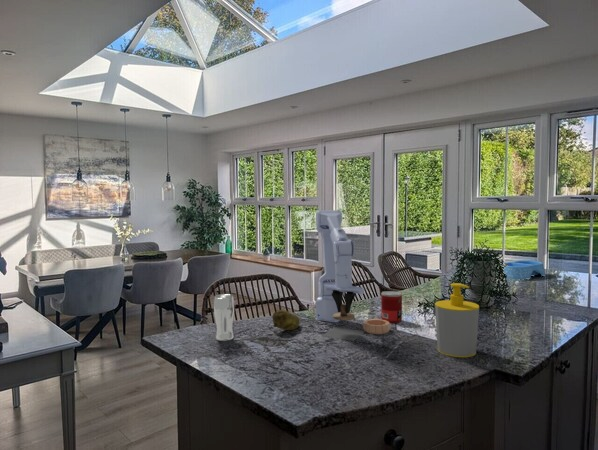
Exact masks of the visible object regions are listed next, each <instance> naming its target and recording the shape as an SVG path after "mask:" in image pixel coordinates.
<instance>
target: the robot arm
mask: <svg viewBox="0 0 598 450" xmlns="http://www.w3.org/2000/svg"><path fill="white" fill-rule="evenodd" d="M342 222H343V214H342V211H341V210H340V209H336V210H334V209H333V210H326V209H325V210H320V209H318V210H317V211H316V212H315V227H316V232H318V233H320V234H321V235H320V236H321V240H322V255H323V268H324V269H323V272H324V273H323V274H322V275H321V276H320V277H319V278H318V280H317V281H318V282H317V285H318V286H317V290H318V292H317V293H318V297H317V299H316V302H315V320H316V321H324V322H330V323H339V322H340V321H341V320H337V319H334V318H333V314H335V313H340V305H342V304H343V296H344V302H345V305H346V313H350V311H351V308H352V305H353V304H352V303H353V301H354V298H355V296H356V294H359V295H363V294H364V293H365V288H364V287H361V286H360V287H359V286H355V285H352V283H353V282H352V281H353V274H352V273H353V272H352V271H353V269H352V267H353V262H352V259H353V258H352V257H353V256H354V253H355V245H354V241H353V240H352V239H350V238H348V235H347V233H346V231H345V230H344V229H343V228H341V225H342Z"/></svg>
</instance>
